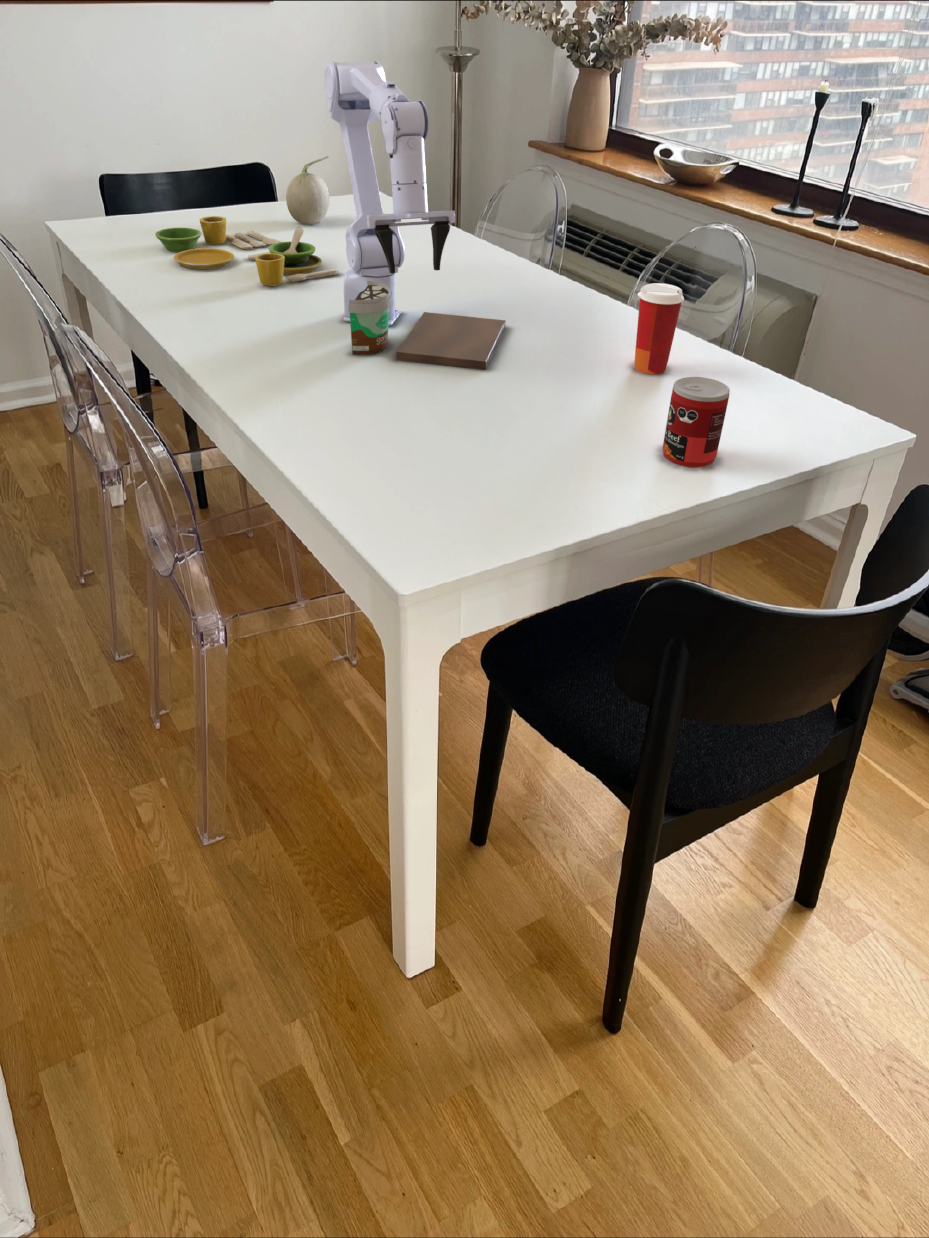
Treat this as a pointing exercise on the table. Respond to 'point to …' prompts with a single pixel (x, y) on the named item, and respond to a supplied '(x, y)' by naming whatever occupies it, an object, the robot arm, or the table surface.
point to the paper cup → (656, 326)
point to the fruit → (307, 197)
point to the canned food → (695, 421)
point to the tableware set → (269, 264)
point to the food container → (370, 319)
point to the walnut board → (452, 340)
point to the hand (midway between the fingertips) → (414, 271)
